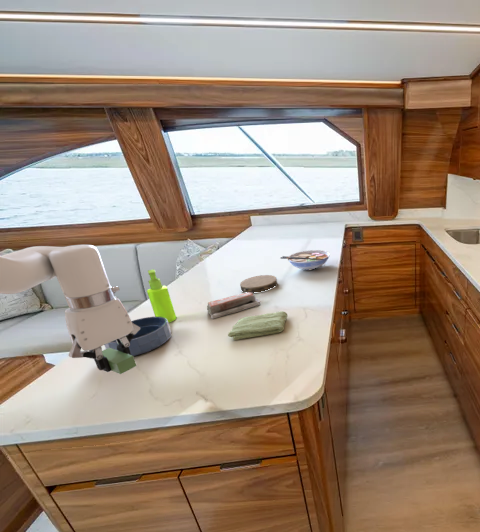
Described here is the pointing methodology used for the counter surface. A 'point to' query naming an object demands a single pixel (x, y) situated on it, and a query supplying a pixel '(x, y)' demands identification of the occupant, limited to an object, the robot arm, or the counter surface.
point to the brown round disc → (258, 283)
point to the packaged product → (232, 304)
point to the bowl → (147, 335)
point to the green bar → (119, 360)
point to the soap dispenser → (160, 298)
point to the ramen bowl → (308, 259)
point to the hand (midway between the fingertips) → (116, 364)
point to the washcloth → (258, 325)
